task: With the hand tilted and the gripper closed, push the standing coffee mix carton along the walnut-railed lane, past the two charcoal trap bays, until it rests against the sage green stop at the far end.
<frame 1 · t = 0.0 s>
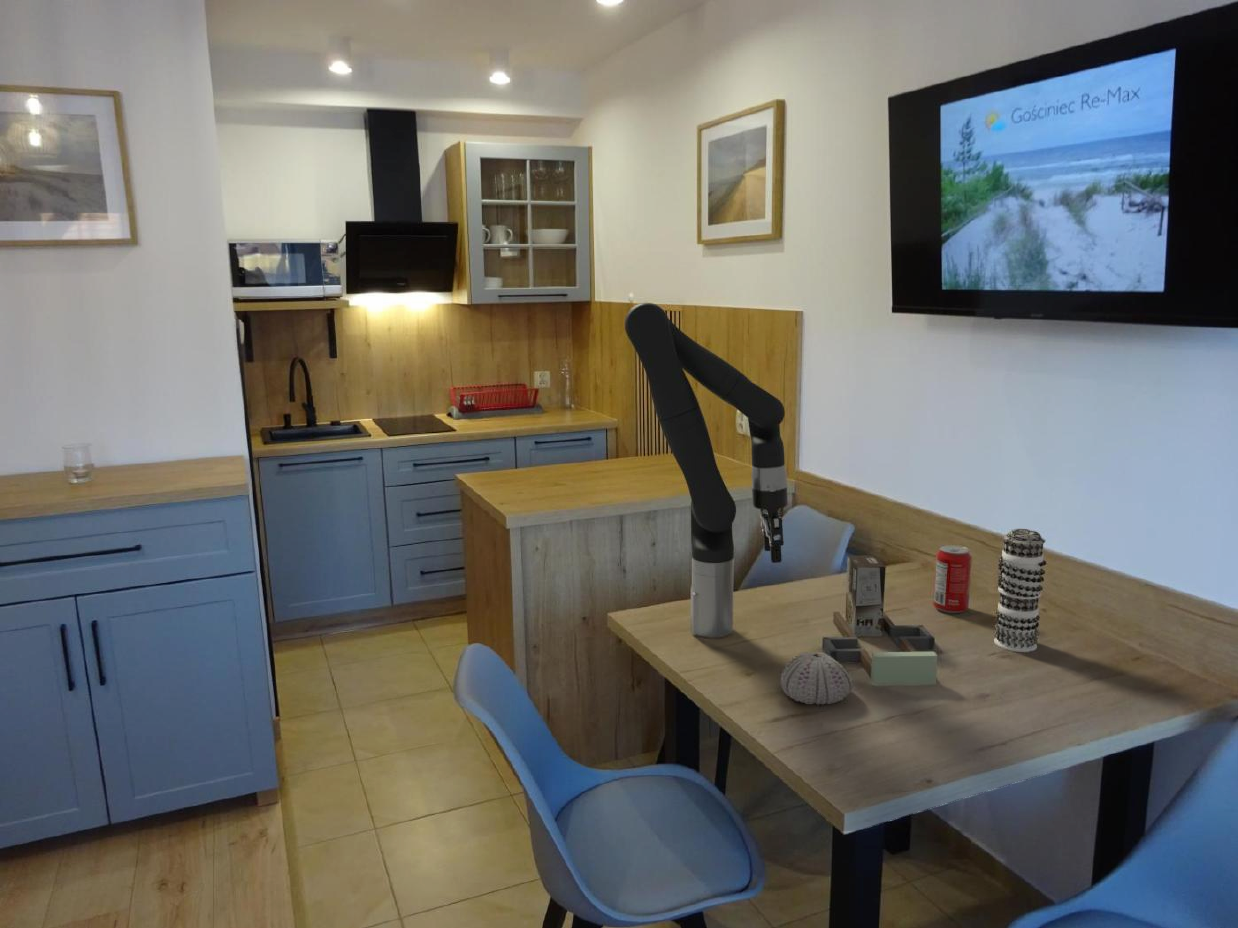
hand: (772, 556, 196), 17 cm above the table, tool pointing down, fingers open, 8 cm apart
white grey tall cylinder: (1015, 644, 189), on the table
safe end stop: (903, 668, 171), on the table
sea urchin shell: (815, 695, 167), on the table
coffee box: (863, 630, 198), on the table
walnut lane: (878, 649, 187), on the table
soda can: (950, 610, 210), on the table
trap bays: (878, 649, 187), on the table
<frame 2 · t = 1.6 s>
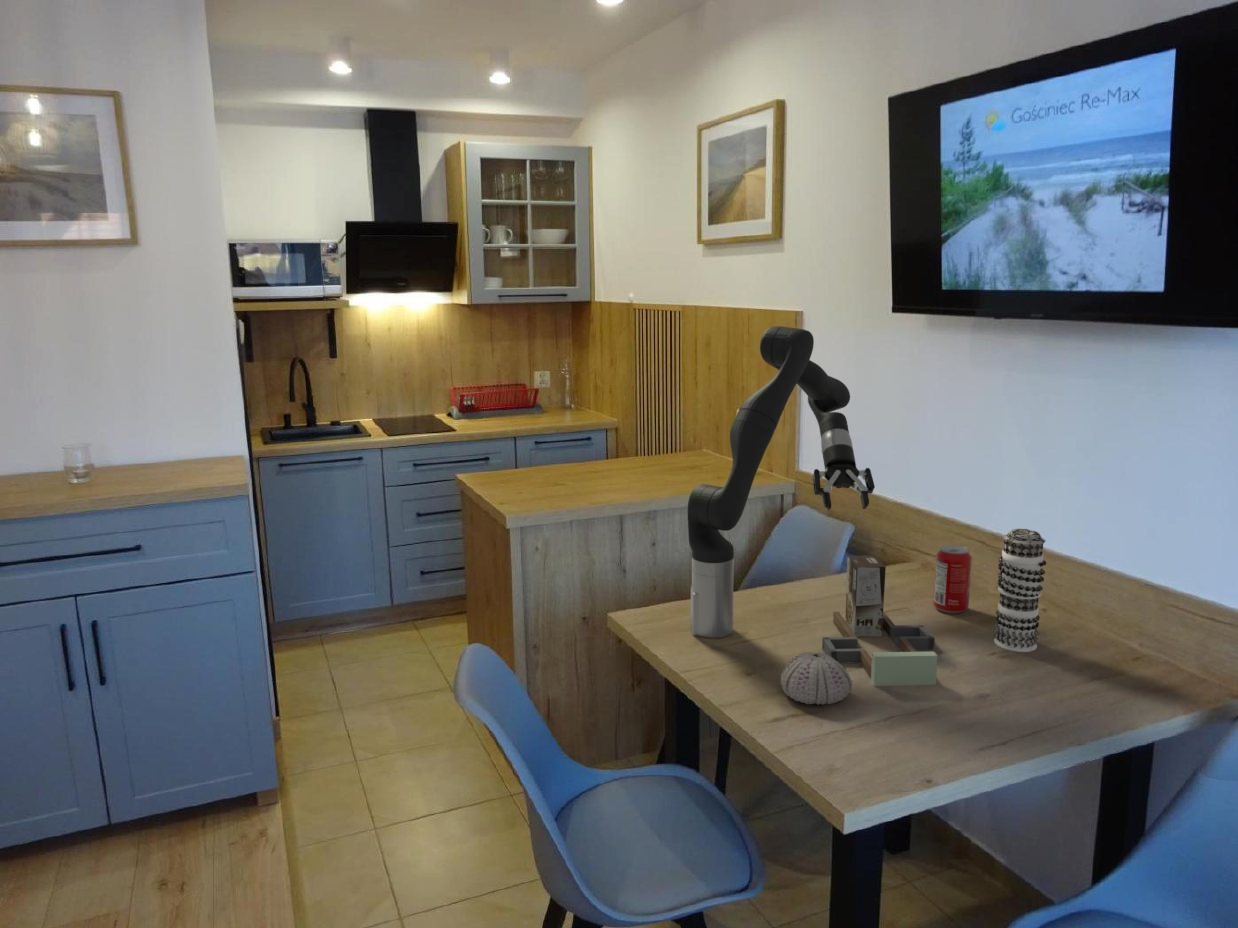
hand: (847, 507, 212), 23 cm above the table, tool tilted 45°, fingers open, 8 cm apart
nothing on the table moved.
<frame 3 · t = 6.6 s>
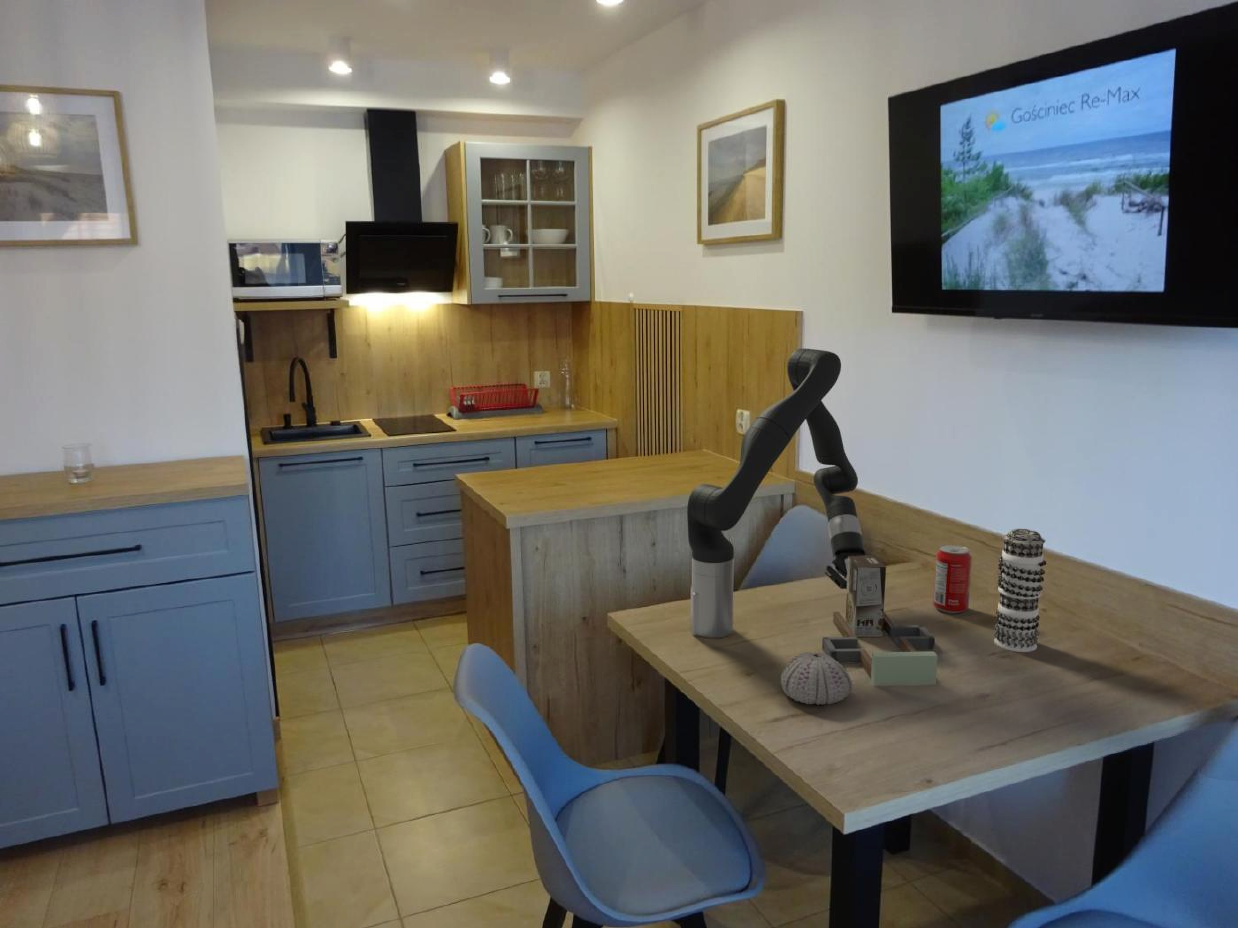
hand: (857, 604, 202), 4 cm above the table, tool tilted 45°, fingers closed
coffee box: (863, 630, 198), on the table, touching gripper
everything else where it was.
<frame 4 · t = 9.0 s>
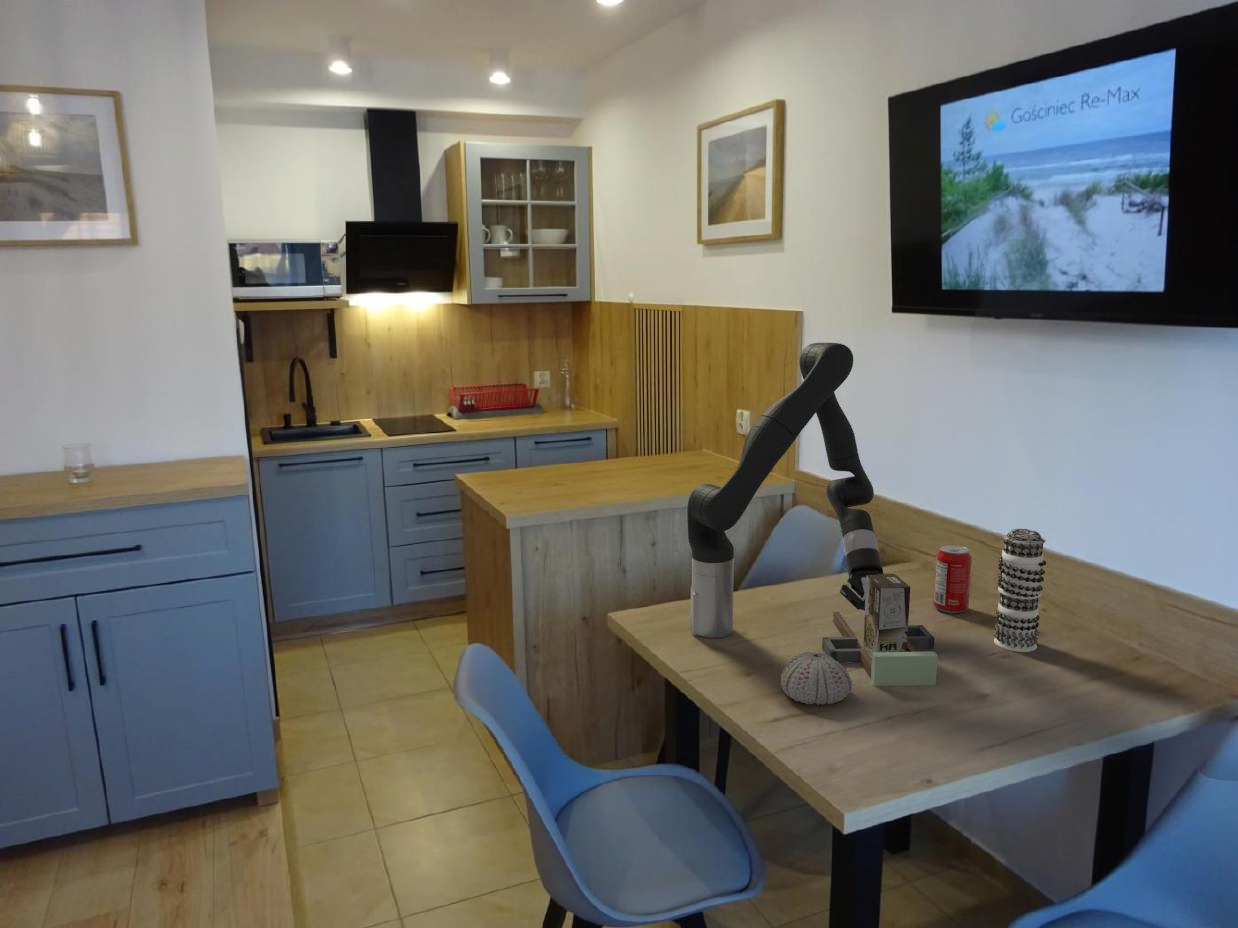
hand: (876, 626, 189), 4 cm above the table, tool tilted 45°, fingers closed
coffee box: (884, 654, 185), on the table, touching gripper
everything else where it was.
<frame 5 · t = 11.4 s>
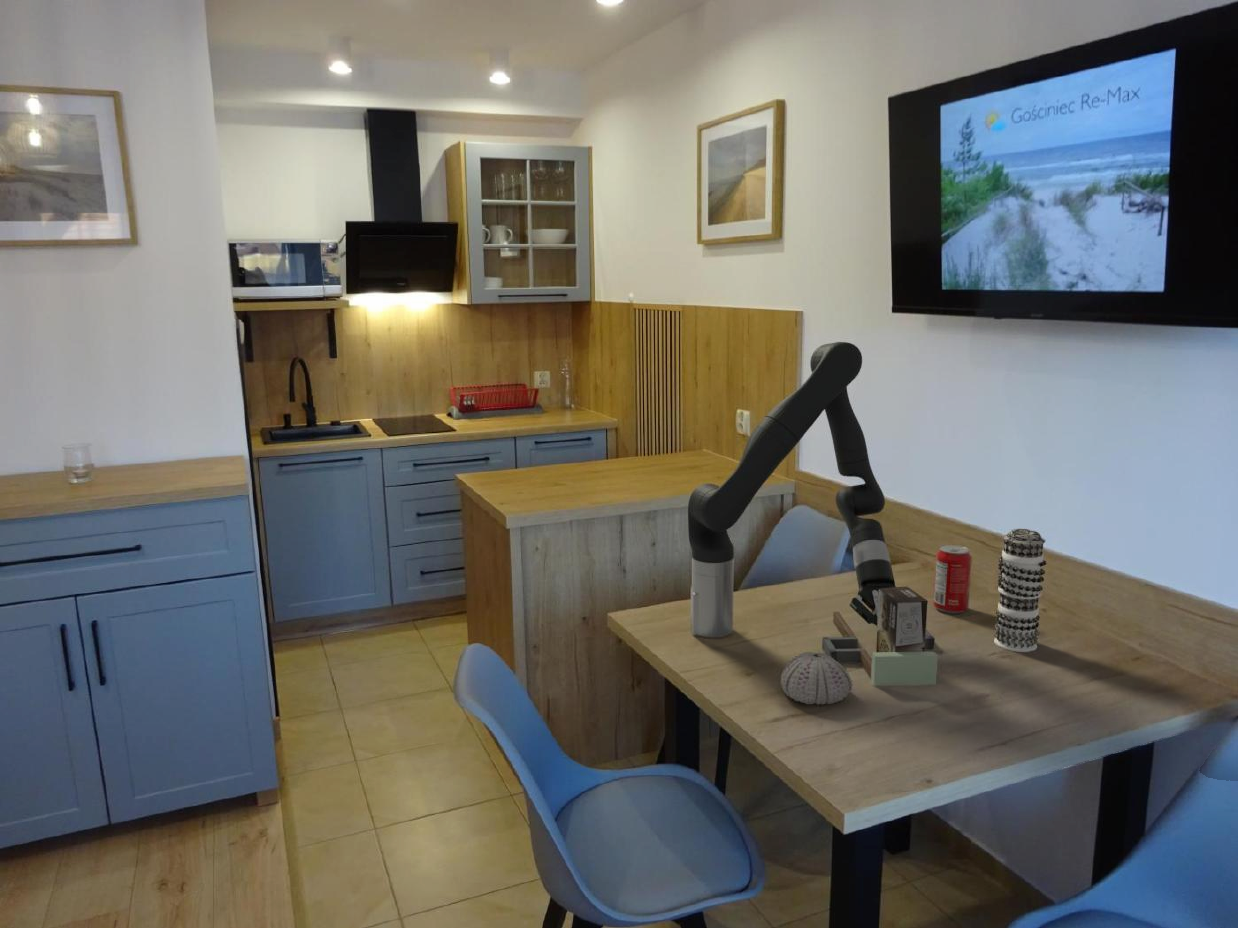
hand: (887, 641, 181), 4 cm above the table, tool tilted 45°, fingers closed
coffee box: (898, 671, 177), on the table, touching gripper, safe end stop
everything else where it was.
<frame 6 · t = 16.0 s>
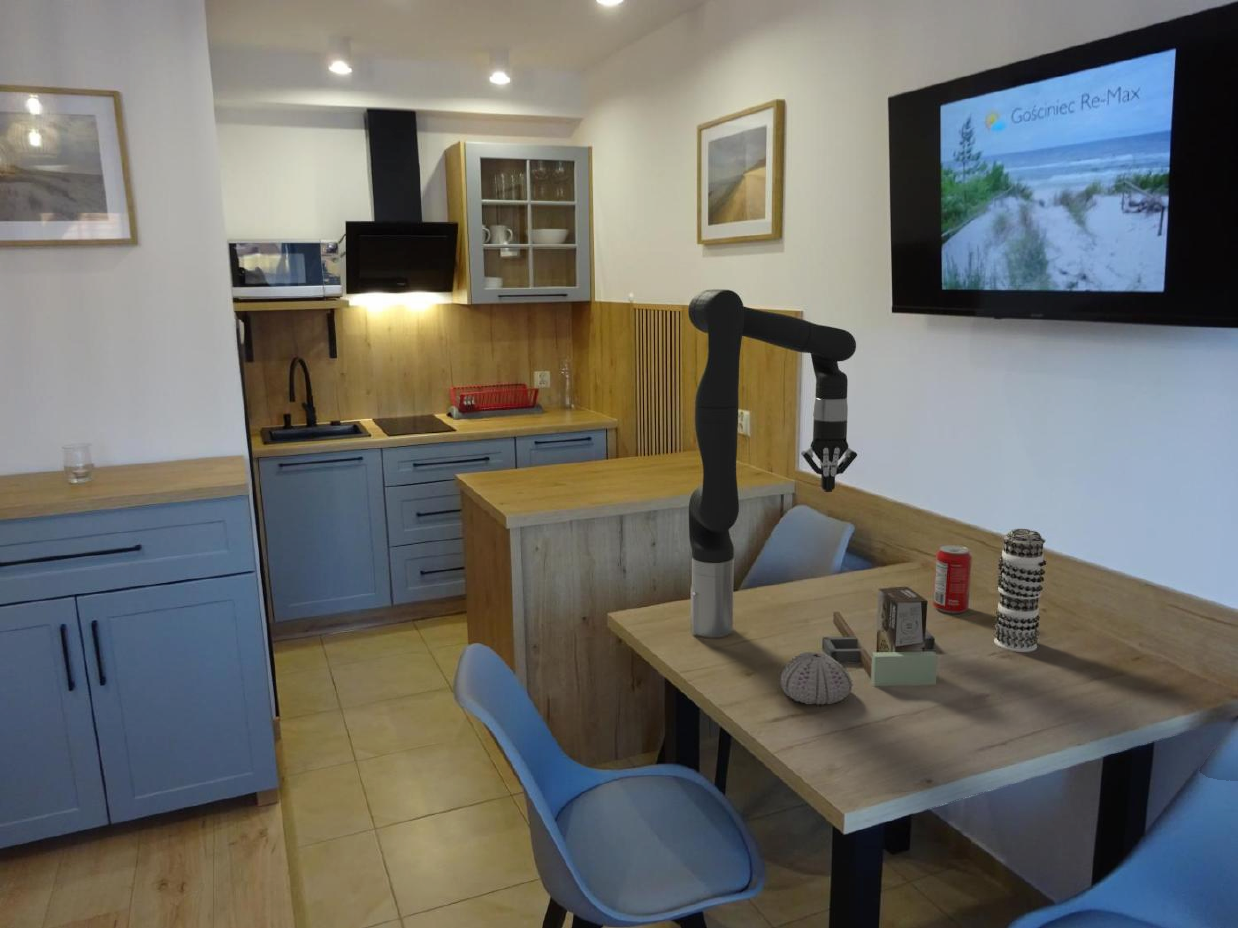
hand: (827, 491, 205), 29 cm above the table, tool pointing down, fingers closed
coffee box: (898, 671, 177), on the table
everything else where it was.
at the end: coffee box 1.0 cm from the target spot, on the table; coffee box tilted 0° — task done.
